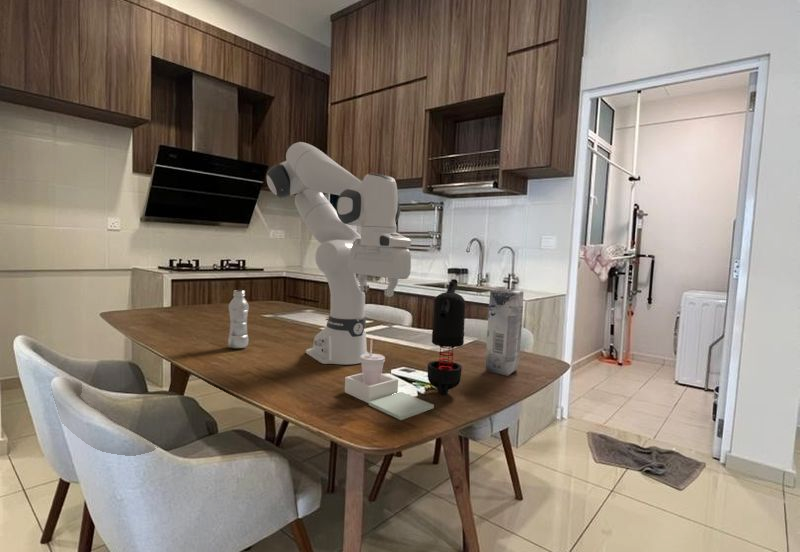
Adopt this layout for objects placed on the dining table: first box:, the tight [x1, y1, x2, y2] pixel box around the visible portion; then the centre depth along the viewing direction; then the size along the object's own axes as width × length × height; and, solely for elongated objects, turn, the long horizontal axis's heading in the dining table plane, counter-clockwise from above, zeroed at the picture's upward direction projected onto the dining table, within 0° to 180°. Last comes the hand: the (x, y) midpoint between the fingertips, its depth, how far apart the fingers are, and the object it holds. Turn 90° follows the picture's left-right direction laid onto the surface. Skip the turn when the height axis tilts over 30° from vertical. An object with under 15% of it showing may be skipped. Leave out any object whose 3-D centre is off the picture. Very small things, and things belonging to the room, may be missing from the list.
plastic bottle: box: [227, 289, 250, 350], centre depth 145 cm, size 6×7×20 cm
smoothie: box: [360, 339, 386, 386], centre depth 108 cm, size 6×6×14 cm
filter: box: [427, 278, 466, 396], centre depth 109 cm, size 14×9×30 cm
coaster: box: [368, 391, 435, 421], centre depth 101 cm, size 11×11×1 cm
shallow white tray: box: [344, 372, 399, 404], centre depth 108 cm, size 10×10×4 cm
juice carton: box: [485, 285, 524, 377], centre depth 133 cm, size 9×10×27 cm
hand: (376, 294), depth 107 cm, fingers open, 8 cm apart
